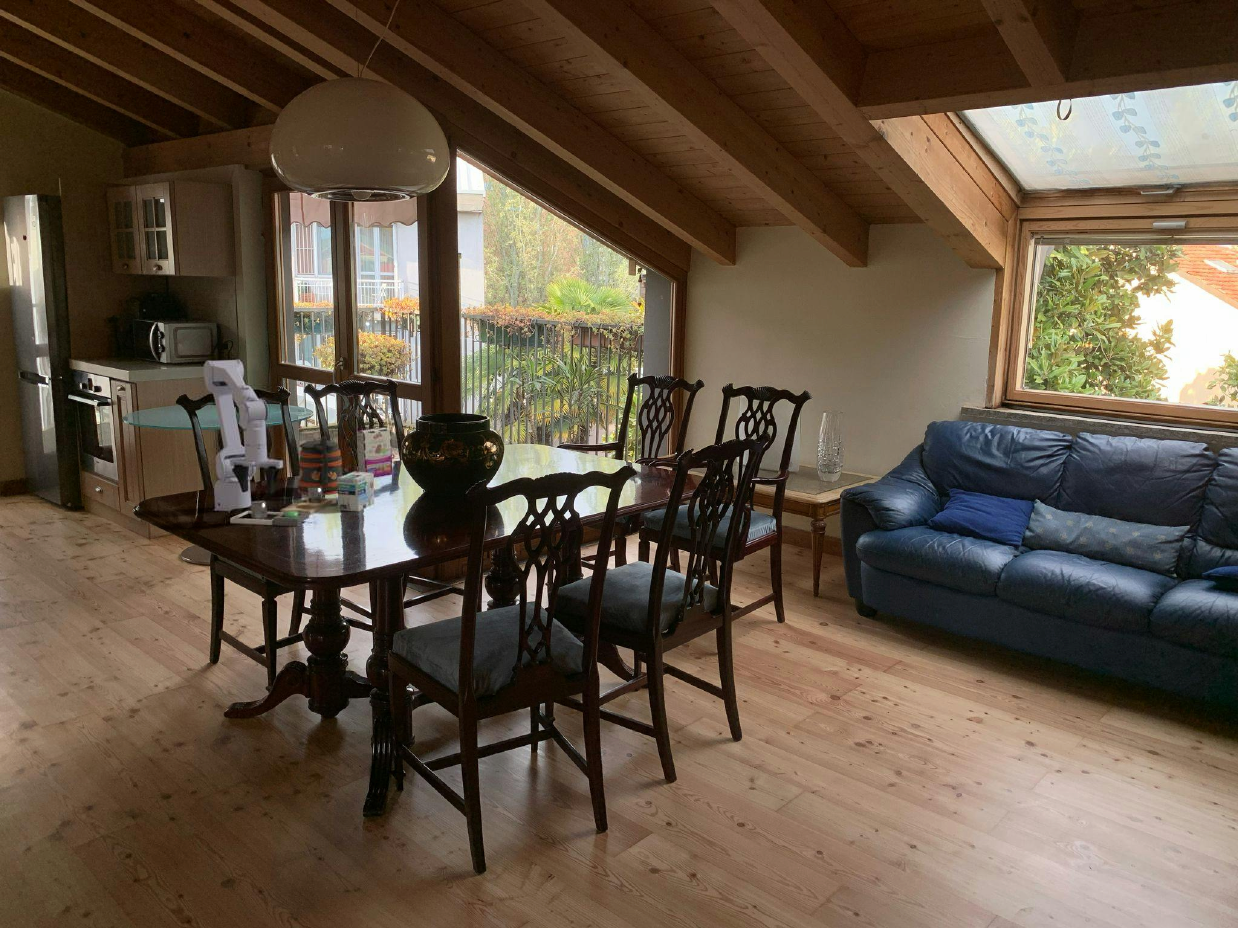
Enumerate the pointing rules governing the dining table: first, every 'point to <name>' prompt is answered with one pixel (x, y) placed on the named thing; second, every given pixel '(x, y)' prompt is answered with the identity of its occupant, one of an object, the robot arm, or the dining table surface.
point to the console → (290, 519)
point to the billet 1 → (259, 510)
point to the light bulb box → (355, 491)
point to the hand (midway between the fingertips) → (258, 492)
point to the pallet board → (308, 506)
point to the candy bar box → (375, 451)
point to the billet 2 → (315, 494)
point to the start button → (291, 514)
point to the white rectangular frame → (253, 521)
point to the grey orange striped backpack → (319, 466)
